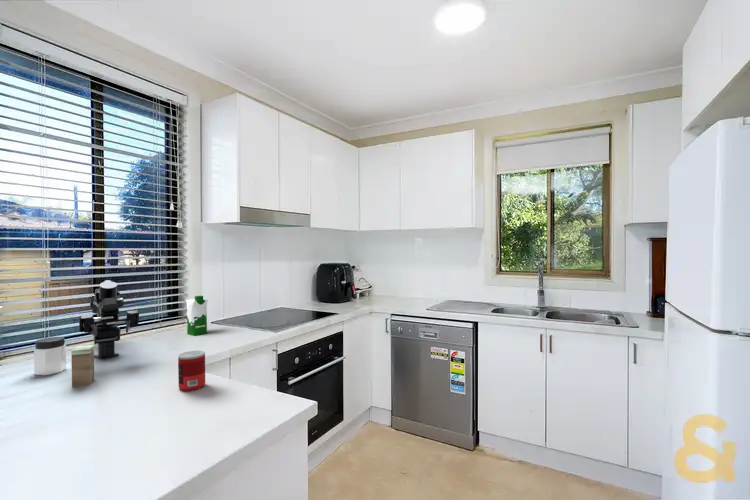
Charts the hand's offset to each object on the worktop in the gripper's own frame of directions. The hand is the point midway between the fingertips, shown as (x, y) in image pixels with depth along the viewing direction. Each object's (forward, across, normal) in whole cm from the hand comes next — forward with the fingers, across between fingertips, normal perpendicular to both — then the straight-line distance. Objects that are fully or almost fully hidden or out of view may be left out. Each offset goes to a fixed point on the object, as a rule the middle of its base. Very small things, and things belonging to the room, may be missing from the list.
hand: (112, 333), depth 138 cm
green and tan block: (+14, -9, +9) cm, 18 cm away
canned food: (+39, +18, -3) cm, 43 cm away
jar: (-6, -18, +19) cm, 27 cm away
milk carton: (-32, +40, +31) cm, 60 cm away
